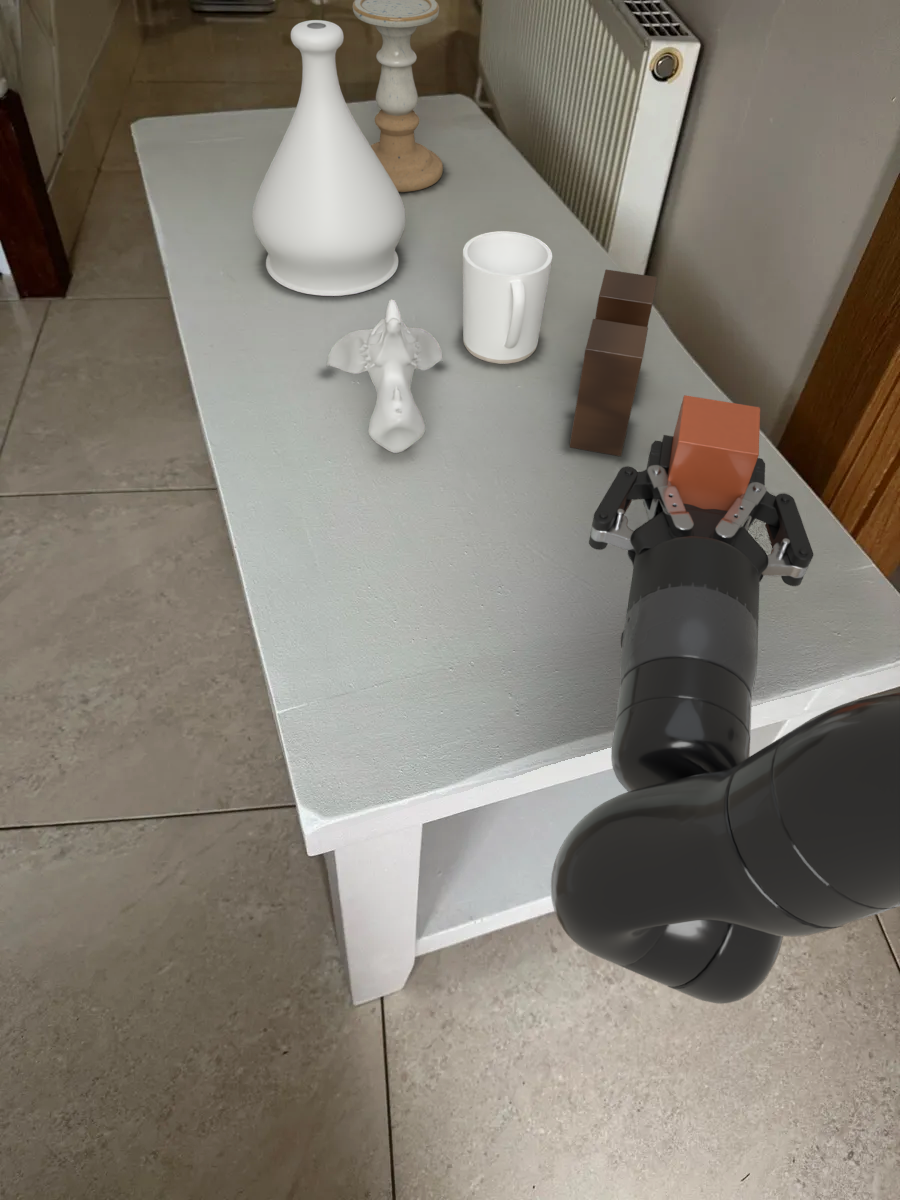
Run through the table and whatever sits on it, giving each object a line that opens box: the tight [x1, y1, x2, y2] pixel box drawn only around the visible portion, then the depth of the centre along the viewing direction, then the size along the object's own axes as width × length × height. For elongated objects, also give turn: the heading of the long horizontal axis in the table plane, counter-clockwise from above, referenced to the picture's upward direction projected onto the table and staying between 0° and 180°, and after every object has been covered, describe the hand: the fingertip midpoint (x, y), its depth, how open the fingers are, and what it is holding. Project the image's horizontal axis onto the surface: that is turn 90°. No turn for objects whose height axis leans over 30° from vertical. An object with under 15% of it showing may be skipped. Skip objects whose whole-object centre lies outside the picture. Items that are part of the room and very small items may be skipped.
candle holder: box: [352, 0, 444, 193], centre depth 119 cm, size 12×12×20 cm
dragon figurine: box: [326, 299, 444, 454], centre depth 86 cm, size 12×18×13 cm
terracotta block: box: [667, 394, 761, 511], centre depth 64 cm, size 5×5×11 cm
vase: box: [251, 19, 407, 297], centre depth 101 cm, size 17×17×25 cm
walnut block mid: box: [569, 318, 649, 457], centre depth 86 cm, size 5×5×11 cm
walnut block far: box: [594, 269, 658, 328], centre depth 92 cm, size 5×5×11 cm
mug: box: [462, 230, 553, 365], centre depth 96 cm, size 11×9×10 cm
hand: (705, 452), depth 65 cm, fingers closed on terracotta block, 5 cm apart
